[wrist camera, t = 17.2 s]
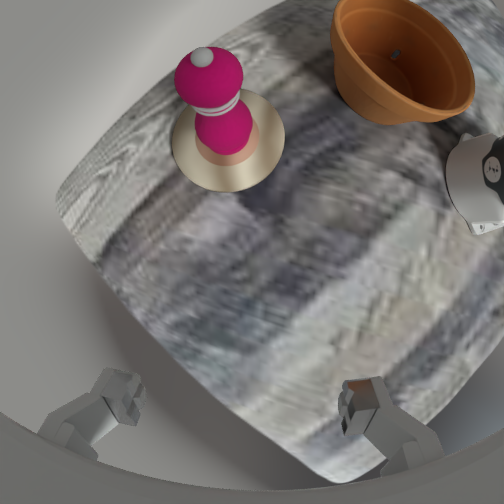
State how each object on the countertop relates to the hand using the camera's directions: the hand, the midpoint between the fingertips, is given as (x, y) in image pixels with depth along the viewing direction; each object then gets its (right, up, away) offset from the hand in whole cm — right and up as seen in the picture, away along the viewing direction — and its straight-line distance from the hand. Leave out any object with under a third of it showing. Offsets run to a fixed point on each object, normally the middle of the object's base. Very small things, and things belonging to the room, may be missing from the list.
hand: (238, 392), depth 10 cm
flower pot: (+21, +32, +27) cm, 47 cm away
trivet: (-3, +22, +28) cm, 35 cm away
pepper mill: (-3, +22, +27) cm, 34 cm away
